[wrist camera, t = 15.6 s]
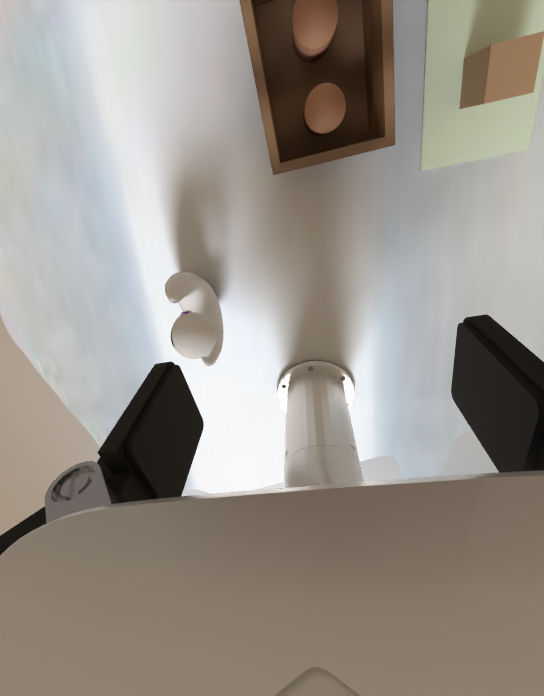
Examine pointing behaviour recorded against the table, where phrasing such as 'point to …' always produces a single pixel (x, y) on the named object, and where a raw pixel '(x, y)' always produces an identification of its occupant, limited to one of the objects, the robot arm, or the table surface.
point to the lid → (480, 78)
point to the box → (322, 77)
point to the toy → (195, 317)
